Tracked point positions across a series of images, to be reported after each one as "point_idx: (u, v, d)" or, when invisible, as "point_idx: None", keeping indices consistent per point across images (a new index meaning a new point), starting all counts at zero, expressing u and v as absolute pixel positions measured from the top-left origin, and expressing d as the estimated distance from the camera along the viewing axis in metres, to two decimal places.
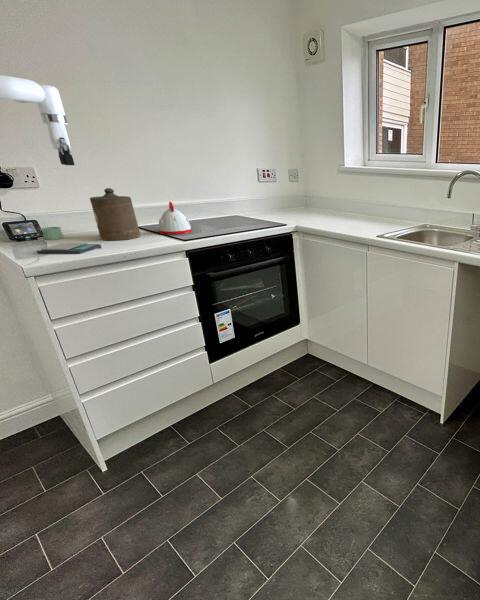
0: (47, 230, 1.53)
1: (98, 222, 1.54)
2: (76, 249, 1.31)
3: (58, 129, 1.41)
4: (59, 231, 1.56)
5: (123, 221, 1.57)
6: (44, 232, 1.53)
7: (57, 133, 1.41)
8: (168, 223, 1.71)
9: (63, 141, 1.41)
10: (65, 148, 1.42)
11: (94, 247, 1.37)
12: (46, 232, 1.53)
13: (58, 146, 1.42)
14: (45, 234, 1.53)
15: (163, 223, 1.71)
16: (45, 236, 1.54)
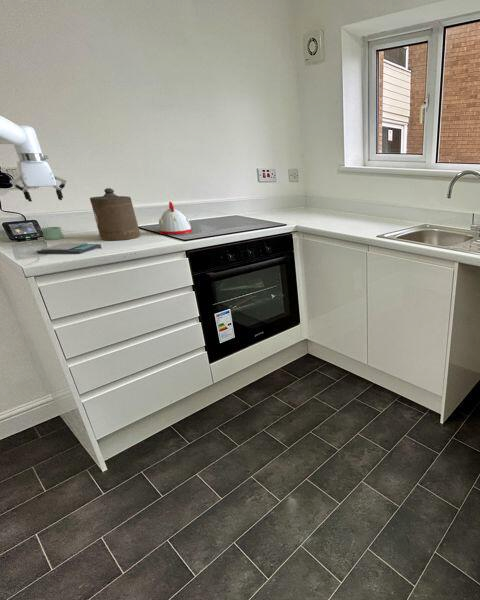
0: (47, 230, 1.53)
1: (98, 222, 1.54)
2: (76, 249, 1.31)
3: (18, 167, 1.43)
4: (59, 231, 1.56)
5: (123, 221, 1.57)
6: (44, 232, 1.53)
7: None
8: (168, 223, 1.71)
9: (13, 179, 1.43)
10: (14, 185, 1.44)
11: (94, 247, 1.37)
12: (46, 232, 1.53)
13: None
14: (45, 234, 1.53)
15: (163, 223, 1.71)
16: (45, 236, 1.54)
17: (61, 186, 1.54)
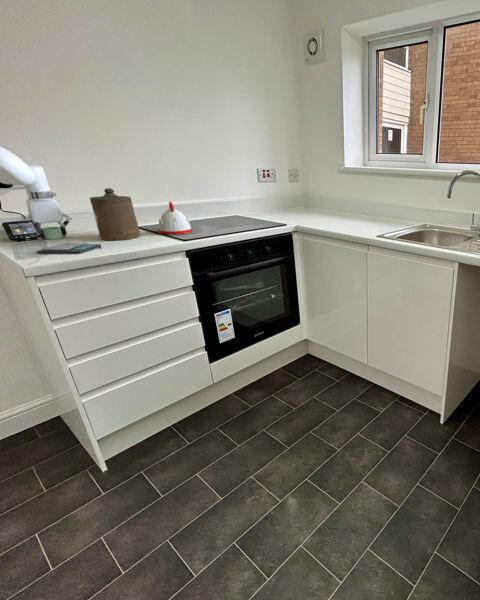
0: (47, 230, 1.53)
1: (98, 222, 1.54)
2: (76, 249, 1.31)
3: (27, 205, 1.48)
4: (59, 231, 1.56)
5: (123, 221, 1.57)
6: (44, 232, 1.53)
7: None
8: (168, 223, 1.71)
9: (25, 218, 1.49)
10: None
11: (94, 247, 1.37)
12: (46, 232, 1.53)
13: (31, 220, 1.51)
14: (45, 234, 1.53)
15: (163, 223, 1.71)
16: (45, 236, 1.54)
17: (65, 223, 1.58)
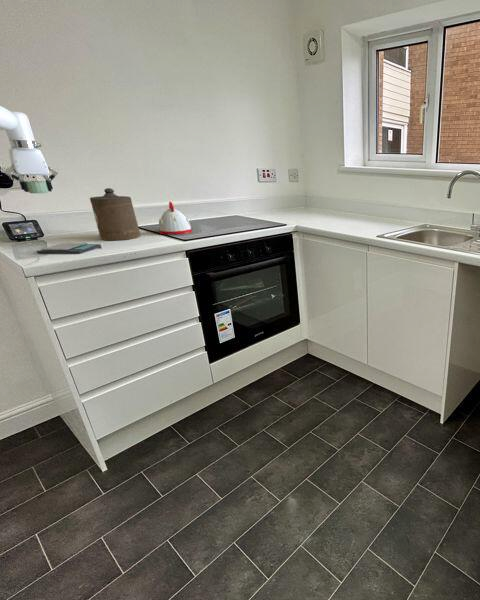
0: (31, 183, 1.44)
1: (98, 222, 1.54)
2: (76, 249, 1.31)
3: (9, 154, 1.40)
4: (44, 185, 1.47)
5: (123, 221, 1.57)
6: (28, 185, 1.44)
7: (10, 158, 1.40)
8: (168, 223, 1.71)
9: None
10: None
11: (94, 247, 1.37)
12: (30, 185, 1.44)
13: (14, 171, 1.43)
14: (29, 187, 1.45)
15: (163, 223, 1.71)
16: (29, 189, 1.45)
17: (51, 177, 1.50)
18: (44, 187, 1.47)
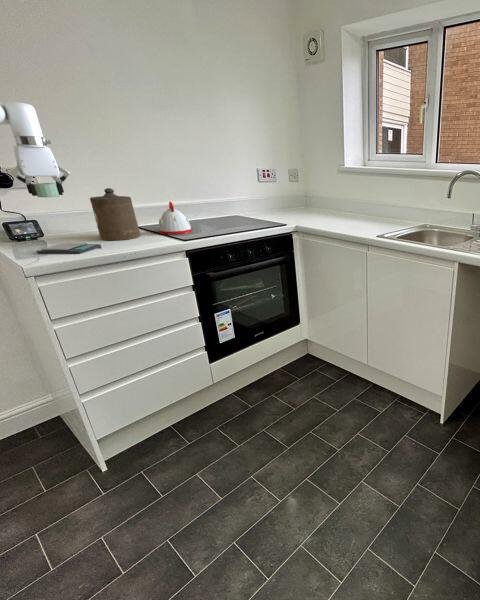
0: (40, 185, 1.25)
1: (98, 222, 1.54)
2: (76, 249, 1.31)
3: (15, 153, 1.21)
4: (54, 187, 1.28)
5: (123, 221, 1.57)
6: (36, 188, 1.25)
7: (15, 157, 1.22)
8: (168, 223, 1.71)
9: (12, 169, 1.21)
10: (15, 177, 1.22)
11: (94, 247, 1.37)
12: (39, 188, 1.25)
13: (20, 172, 1.24)
14: (37, 190, 1.26)
15: (163, 223, 1.71)
16: (37, 193, 1.26)
17: (62, 178, 1.31)
18: (54, 190, 1.29)
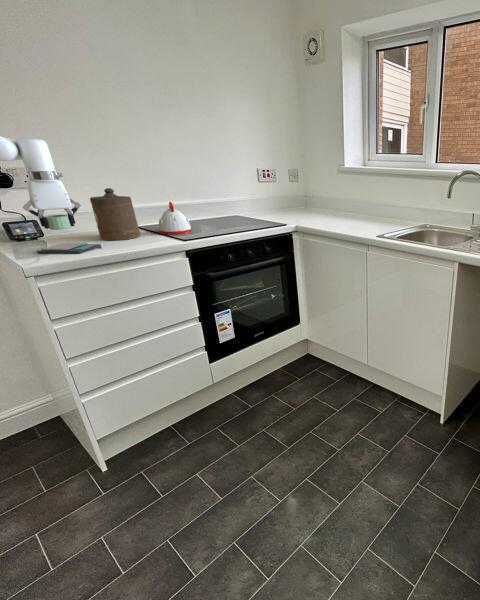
0: (52, 218, 1.27)
1: (98, 222, 1.54)
2: (76, 249, 1.31)
3: (27, 187, 1.22)
4: (66, 219, 1.30)
5: (123, 221, 1.57)
6: (48, 221, 1.27)
7: (28, 192, 1.23)
8: (168, 223, 1.71)
9: (25, 204, 1.23)
10: (28, 211, 1.24)
11: (94, 247, 1.37)
12: (51, 221, 1.27)
13: None
14: (50, 223, 1.27)
15: (163, 223, 1.71)
16: (50, 225, 1.28)
17: (73, 210, 1.32)
18: (66, 222, 1.30)
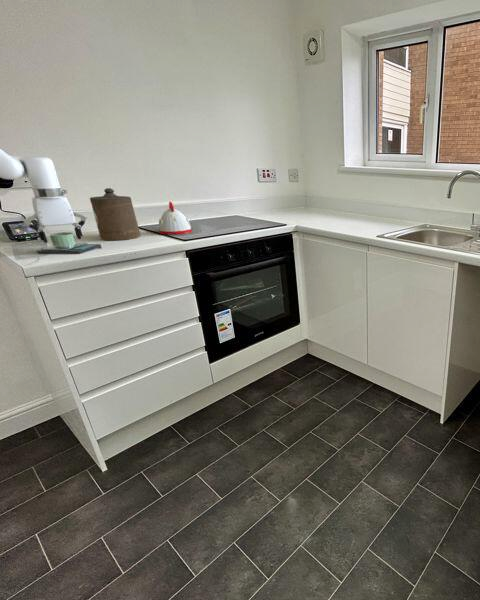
0: (58, 236, 1.29)
1: (98, 222, 1.54)
2: (76, 249, 1.31)
3: (33, 204, 1.24)
4: (71, 237, 1.32)
5: (123, 221, 1.57)
6: (54, 239, 1.29)
7: (33, 208, 1.25)
8: (168, 223, 1.71)
9: None
10: None
11: (94, 247, 1.37)
12: (57, 239, 1.29)
13: None
14: (55, 241, 1.30)
15: (163, 223, 1.71)
16: (55, 243, 1.30)
17: (81, 223, 1.35)
18: (71, 240, 1.33)
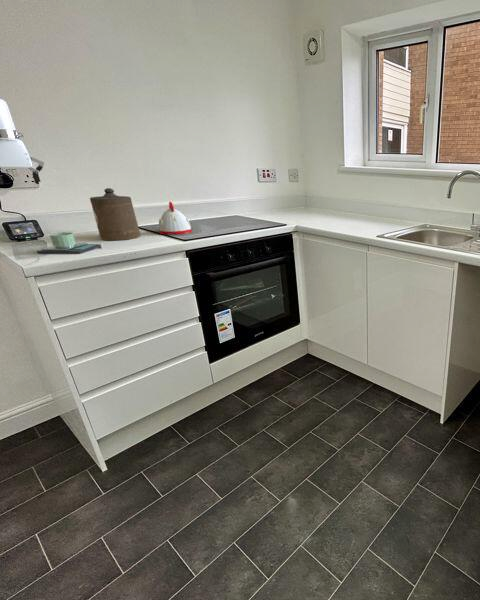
0: (58, 236, 1.29)
1: (98, 222, 1.54)
2: (76, 249, 1.31)
3: None
4: (71, 237, 1.32)
5: (123, 221, 1.57)
6: (54, 239, 1.29)
7: None
8: (168, 223, 1.71)
9: None
10: None
11: (94, 247, 1.37)
12: (57, 239, 1.29)
13: None
14: (55, 241, 1.30)
15: (163, 223, 1.71)
16: (55, 243, 1.30)
17: (38, 168, 1.38)
18: (71, 240, 1.33)
